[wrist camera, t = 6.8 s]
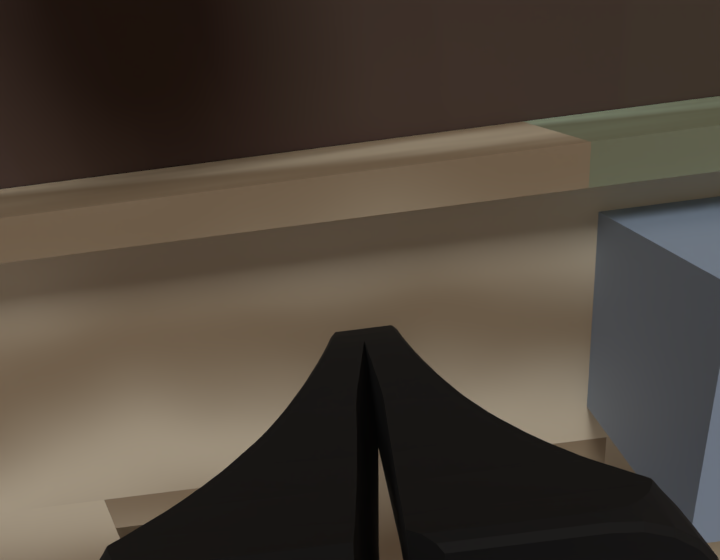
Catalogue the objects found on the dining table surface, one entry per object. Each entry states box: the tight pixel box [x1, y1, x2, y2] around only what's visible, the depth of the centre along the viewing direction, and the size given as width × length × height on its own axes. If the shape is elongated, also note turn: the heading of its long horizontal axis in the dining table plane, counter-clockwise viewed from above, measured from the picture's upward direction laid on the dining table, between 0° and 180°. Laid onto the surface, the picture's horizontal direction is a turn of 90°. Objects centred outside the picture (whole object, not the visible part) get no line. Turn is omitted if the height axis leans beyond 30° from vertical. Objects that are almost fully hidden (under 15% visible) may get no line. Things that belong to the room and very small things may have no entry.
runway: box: [0, 96, 720, 560], centre depth 13 cm, size 16×24×4 cm, turn 97°
